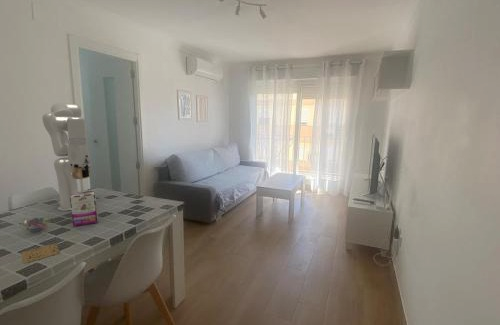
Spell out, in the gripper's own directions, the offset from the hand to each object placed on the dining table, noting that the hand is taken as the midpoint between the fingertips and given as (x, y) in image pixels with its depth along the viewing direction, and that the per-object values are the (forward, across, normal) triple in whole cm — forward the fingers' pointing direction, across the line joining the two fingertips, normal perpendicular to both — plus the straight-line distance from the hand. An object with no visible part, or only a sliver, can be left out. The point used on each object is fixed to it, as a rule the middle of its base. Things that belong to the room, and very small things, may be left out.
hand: (81, 176), depth 133 cm
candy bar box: (+26, 0, 0) cm, 26 cm away
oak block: (+1, 0, 0) cm, 1 cm away
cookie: (+27, +10, -29) cm, 41 cm away
